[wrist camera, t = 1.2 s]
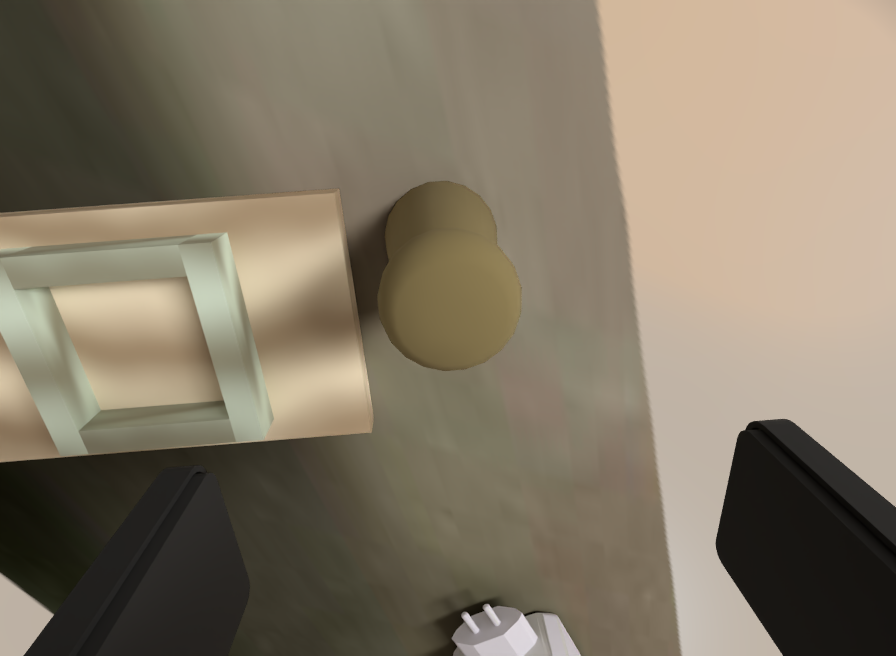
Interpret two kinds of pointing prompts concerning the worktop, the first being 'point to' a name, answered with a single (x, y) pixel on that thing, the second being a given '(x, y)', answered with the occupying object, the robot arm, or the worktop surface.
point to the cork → (446, 279)
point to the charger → (512, 634)
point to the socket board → (178, 326)
